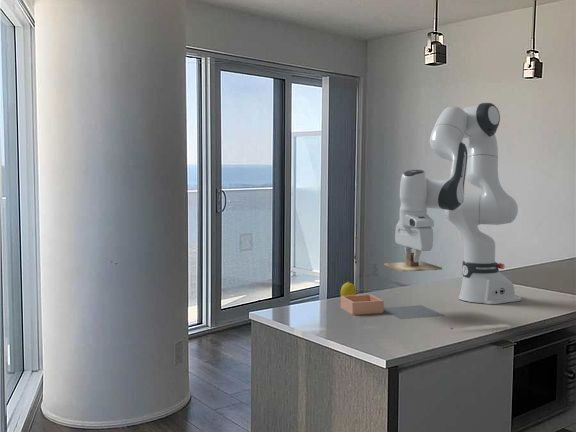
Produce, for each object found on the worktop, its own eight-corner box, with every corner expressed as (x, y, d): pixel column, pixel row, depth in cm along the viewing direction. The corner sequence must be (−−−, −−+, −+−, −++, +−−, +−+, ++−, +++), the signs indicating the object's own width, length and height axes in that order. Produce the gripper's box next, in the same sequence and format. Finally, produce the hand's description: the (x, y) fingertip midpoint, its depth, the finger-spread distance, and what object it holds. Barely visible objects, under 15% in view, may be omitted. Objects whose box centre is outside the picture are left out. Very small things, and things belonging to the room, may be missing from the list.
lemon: (355, 305, 223) (355, 283, 222) (339, 304, 224) (339, 282, 223) (356, 302, 228) (356, 280, 228) (341, 301, 229) (341, 280, 229)
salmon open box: (370, 308, 218) (370, 294, 218) (383, 315, 208) (383, 300, 207) (340, 310, 215) (340, 296, 215) (352, 317, 205) (352, 302, 204)
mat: (421, 308, 219) (421, 305, 219) (445, 318, 203) (445, 315, 203) (379, 310, 214) (379, 308, 214) (400, 322, 199) (400, 318, 199)
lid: (421, 262, 216) (421, 249, 216) (442, 269, 203) (442, 255, 202) (384, 265, 212) (384, 251, 212) (402, 272, 199) (402, 257, 199)
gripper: (390, 217, 215) (390, 256, 217) (418, 222, 196) (418, 266, 197) (407, 216, 217) (407, 255, 218) (436, 221, 197) (436, 265, 199)
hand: (412, 260), depth 208 cm, fingers closed on lid, 3 cm apart
